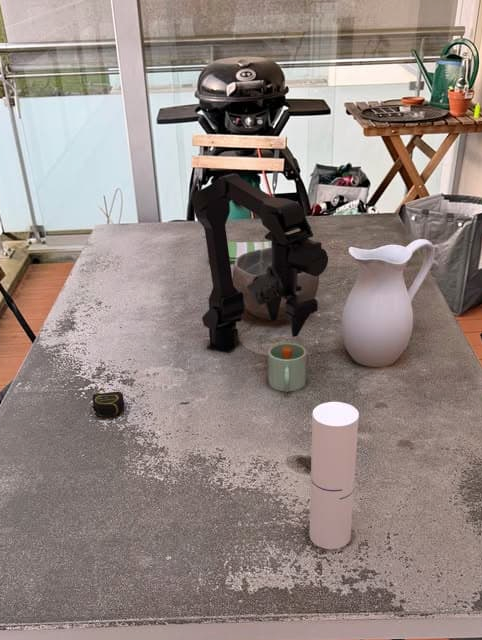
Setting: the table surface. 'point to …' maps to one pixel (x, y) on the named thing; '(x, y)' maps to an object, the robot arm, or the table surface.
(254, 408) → the table surface
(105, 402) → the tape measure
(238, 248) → the dish towel
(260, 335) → the table surface
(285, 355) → the marker
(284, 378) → the green handled mug
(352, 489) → the cylindrical container
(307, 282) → the bowl
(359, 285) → the pitcher
